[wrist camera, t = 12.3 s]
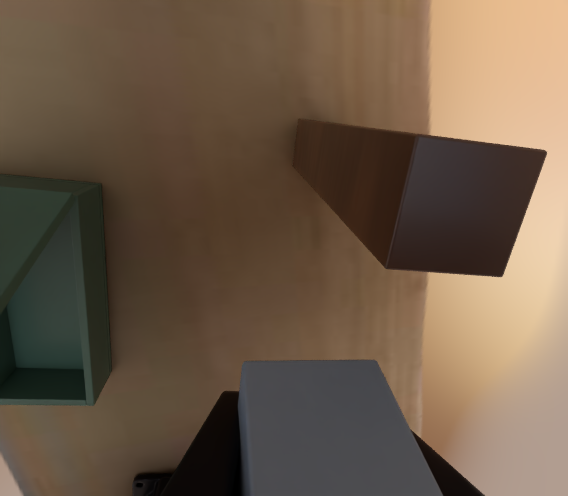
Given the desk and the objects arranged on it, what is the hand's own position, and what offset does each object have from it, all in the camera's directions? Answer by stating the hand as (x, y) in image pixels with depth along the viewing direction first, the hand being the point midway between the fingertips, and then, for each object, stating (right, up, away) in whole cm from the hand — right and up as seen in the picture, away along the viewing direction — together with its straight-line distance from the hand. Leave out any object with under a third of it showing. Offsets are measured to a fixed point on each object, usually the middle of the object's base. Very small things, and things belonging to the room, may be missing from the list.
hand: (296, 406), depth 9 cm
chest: (-13, +2, +11) cm, 18 cm away
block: (0, 0, -1) cm, 1 cm away
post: (+2, +9, +10) cm, 14 cm away
